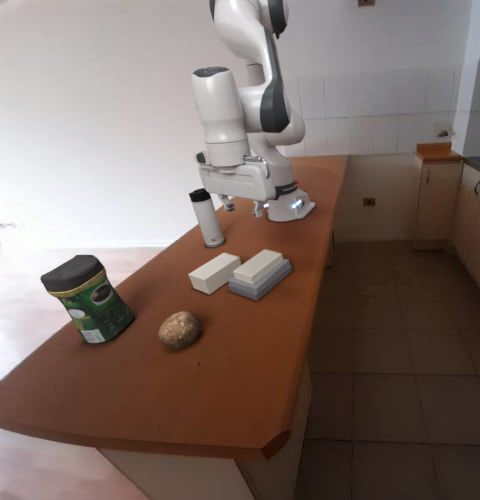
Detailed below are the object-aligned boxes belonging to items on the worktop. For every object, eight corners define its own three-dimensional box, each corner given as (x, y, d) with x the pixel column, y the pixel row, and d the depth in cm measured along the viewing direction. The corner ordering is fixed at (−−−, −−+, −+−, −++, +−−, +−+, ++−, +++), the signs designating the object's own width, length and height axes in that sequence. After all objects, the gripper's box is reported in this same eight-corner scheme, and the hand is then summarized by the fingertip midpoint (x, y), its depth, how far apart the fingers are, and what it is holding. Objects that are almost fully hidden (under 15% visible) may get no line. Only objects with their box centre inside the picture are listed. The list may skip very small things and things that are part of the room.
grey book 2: (266, 262, 86) (265, 257, 85) (292, 270, 81) (291, 265, 80) (229, 290, 75) (227, 285, 74) (257, 301, 70) (255, 295, 69)
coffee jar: (112, 314, 69) (72, 250, 60) (140, 315, 68) (104, 250, 59) (77, 345, 61) (24, 276, 52) (109, 346, 60) (61, 277, 51)
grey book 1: (263, 258, 84) (262, 253, 83) (290, 264, 80) (289, 259, 80) (229, 285, 73) (227, 280, 73) (257, 294, 70) (256, 288, 69)
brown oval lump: (174, 311, 64) (167, 303, 58) (209, 319, 65) (205, 313, 60) (156, 346, 60) (147, 342, 55) (194, 355, 61) (188, 351, 56)
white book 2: (228, 265, 86) (226, 258, 85) (243, 270, 83) (241, 263, 82) (193, 288, 77) (191, 281, 75) (209, 294, 74) (206, 287, 72)
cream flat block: (266, 255, 82) (264, 248, 81) (283, 260, 79) (282, 253, 78) (235, 278, 73) (232, 271, 72) (253, 284, 70) (251, 277, 69)
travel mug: (219, 248, 96) (201, 192, 86) (202, 247, 97) (183, 192, 87) (228, 239, 101) (213, 186, 91) (212, 238, 102) (195, 186, 92)
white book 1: (226, 258, 85) (224, 252, 83) (241, 263, 82) (239, 256, 80) (191, 281, 75) (188, 274, 74) (206, 287, 72) (204, 280, 71)
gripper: (276, 153, 58) (285, 214, 65) (211, 150, 68) (225, 204, 75) (255, 160, 54) (267, 225, 61) (188, 155, 63) (205, 212, 70)
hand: (243, 213), depth 68 cm, fingers open, 8 cm apart
